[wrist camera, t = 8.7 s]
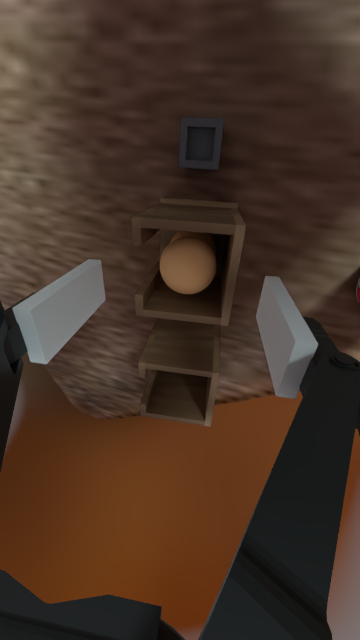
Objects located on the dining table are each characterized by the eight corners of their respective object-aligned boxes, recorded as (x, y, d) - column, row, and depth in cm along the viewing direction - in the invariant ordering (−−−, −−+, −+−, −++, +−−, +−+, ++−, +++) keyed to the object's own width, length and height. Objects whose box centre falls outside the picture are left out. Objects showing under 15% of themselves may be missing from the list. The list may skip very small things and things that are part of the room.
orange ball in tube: (174, 219, 24) (165, 228, 20) (219, 223, 23) (219, 232, 20) (172, 264, 26) (164, 278, 22) (214, 268, 26) (213, 283, 22)
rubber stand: (187, 127, 21) (180, 116, 17) (223, 128, 20) (223, 118, 17) (185, 168, 22) (178, 167, 19) (218, 170, 22) (218, 169, 18)
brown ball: (165, 228, 20) (153, 242, 16) (219, 232, 20) (220, 248, 16) (164, 278, 22) (154, 301, 19) (213, 283, 22) (212, 307, 18)
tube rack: (162, 197, 24) (130, 209, 15) (237, 202, 23) (247, 218, 15) (160, 357, 34) (140, 418, 26) (212, 364, 33) (209, 428, 25)
